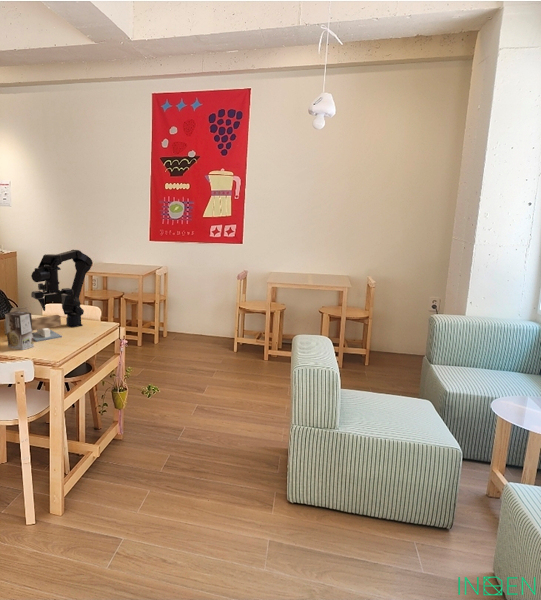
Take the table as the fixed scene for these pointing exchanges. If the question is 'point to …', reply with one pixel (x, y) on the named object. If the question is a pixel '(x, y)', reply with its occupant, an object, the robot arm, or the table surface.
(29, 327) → the coffee box
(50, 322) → the beam
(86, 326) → the table surface
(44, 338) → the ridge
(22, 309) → the block tower
